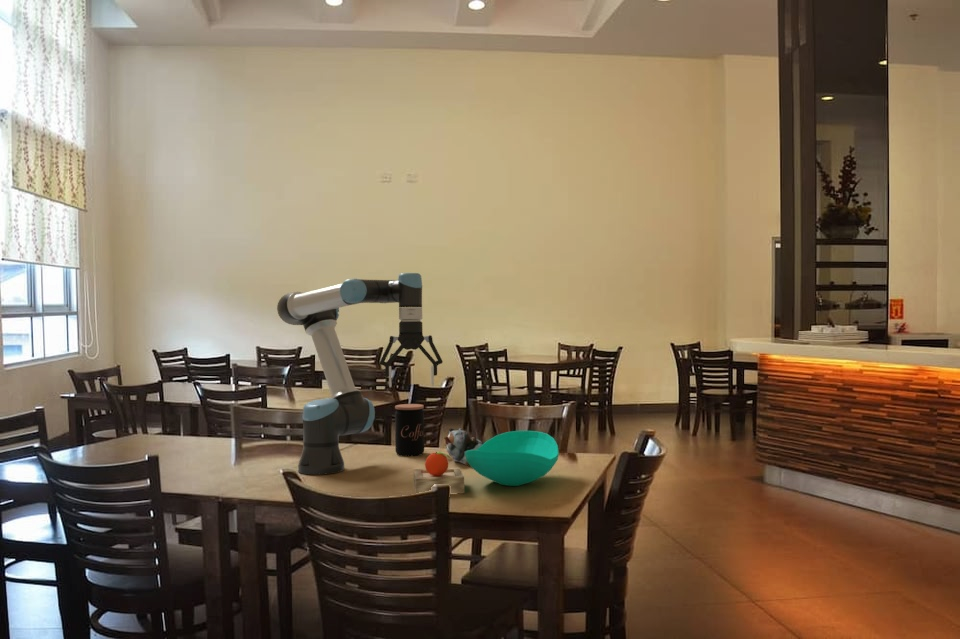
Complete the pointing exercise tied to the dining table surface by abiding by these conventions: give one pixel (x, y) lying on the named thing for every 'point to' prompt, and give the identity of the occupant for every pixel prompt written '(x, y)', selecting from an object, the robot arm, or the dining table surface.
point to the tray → (439, 480)
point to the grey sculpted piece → (460, 444)
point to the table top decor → (515, 457)
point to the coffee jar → (409, 429)
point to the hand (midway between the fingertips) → (411, 386)
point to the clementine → (436, 464)
